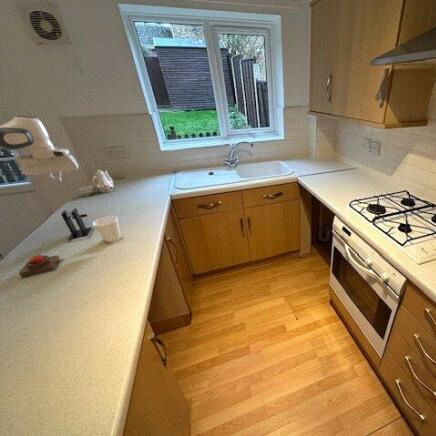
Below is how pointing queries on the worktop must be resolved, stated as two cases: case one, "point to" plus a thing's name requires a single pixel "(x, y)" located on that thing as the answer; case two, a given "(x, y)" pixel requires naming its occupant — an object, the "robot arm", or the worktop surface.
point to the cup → (108, 228)
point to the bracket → (73, 230)
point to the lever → (69, 214)
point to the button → (36, 259)
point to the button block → (40, 266)
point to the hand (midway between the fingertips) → (57, 181)
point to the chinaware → (99, 184)
